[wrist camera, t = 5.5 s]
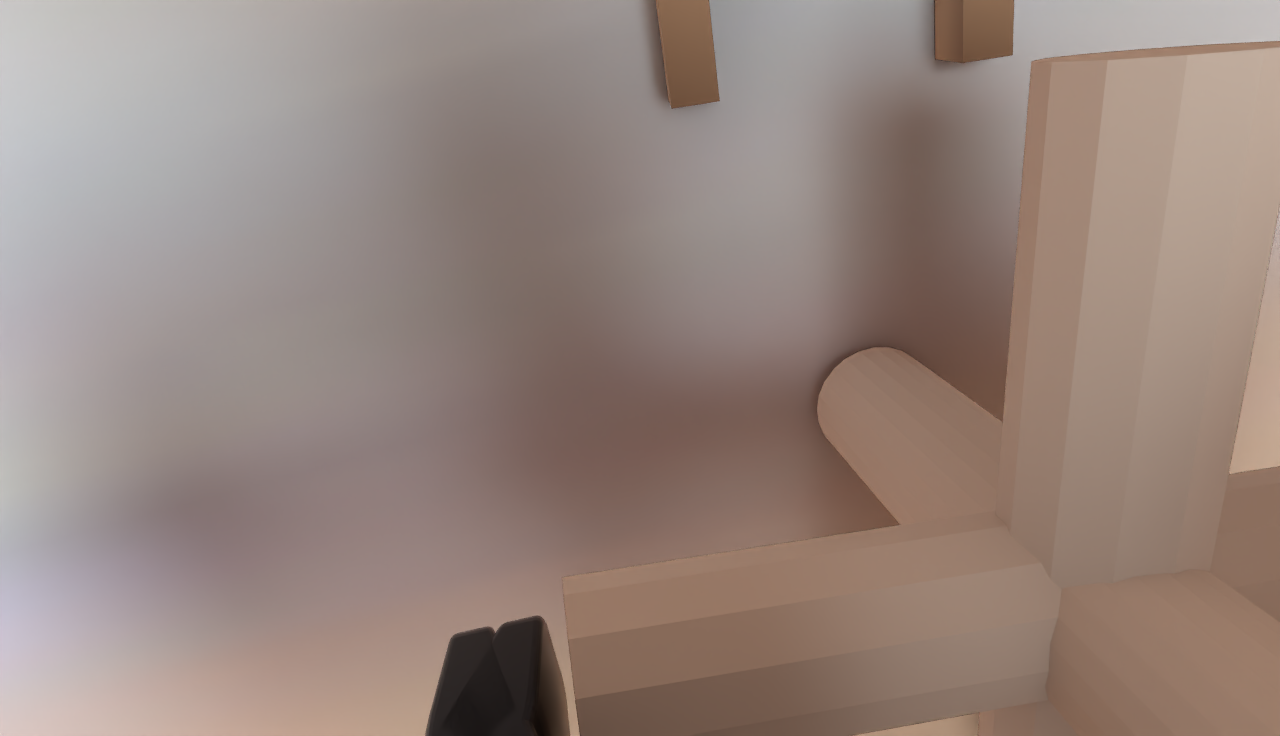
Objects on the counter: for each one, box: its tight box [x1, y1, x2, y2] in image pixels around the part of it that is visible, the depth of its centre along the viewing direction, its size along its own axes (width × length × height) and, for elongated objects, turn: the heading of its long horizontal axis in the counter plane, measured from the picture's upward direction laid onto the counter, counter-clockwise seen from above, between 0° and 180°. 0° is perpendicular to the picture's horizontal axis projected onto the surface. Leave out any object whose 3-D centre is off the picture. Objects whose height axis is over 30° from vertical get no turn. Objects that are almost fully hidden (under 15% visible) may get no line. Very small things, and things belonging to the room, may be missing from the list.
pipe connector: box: [562, 41, 1280, 736], centre depth 8 cm, size 10×10×10 cm
